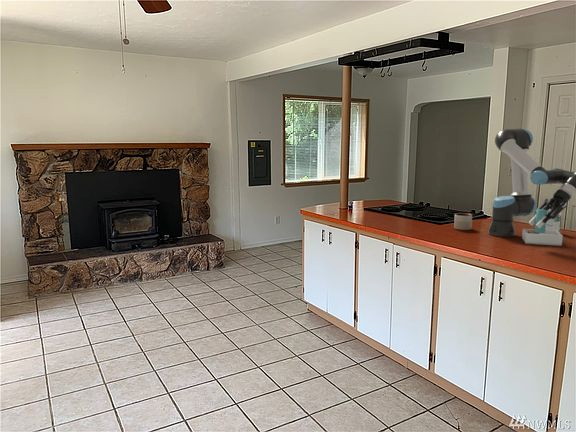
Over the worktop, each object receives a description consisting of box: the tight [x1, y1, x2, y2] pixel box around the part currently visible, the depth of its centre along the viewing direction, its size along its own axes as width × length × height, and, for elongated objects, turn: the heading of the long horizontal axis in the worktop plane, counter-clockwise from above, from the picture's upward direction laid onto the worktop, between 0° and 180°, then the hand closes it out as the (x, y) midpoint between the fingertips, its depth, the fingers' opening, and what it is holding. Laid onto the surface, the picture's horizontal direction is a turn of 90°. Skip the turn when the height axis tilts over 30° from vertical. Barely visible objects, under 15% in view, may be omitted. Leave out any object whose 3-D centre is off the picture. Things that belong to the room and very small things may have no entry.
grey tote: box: [521, 228, 564, 247], centre depth 246 cm, size 18×14×6 cm
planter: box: [453, 212, 473, 231], centre depth 285 cm, size 11×11×10 cm
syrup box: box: [545, 209, 563, 234], centre depth 267 cm, size 6×6×14 cm
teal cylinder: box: [534, 208, 547, 233], centre depth 231 cm, size 5×5×12 cm
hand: (534, 225), depth 231 cm, fingers closed on teal cylinder, 5 cm apart
